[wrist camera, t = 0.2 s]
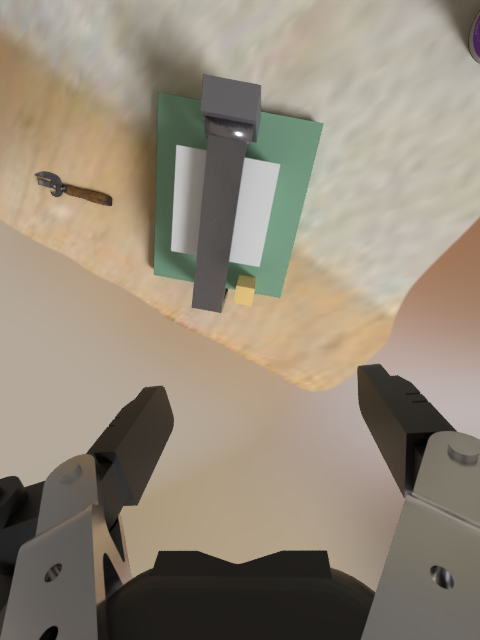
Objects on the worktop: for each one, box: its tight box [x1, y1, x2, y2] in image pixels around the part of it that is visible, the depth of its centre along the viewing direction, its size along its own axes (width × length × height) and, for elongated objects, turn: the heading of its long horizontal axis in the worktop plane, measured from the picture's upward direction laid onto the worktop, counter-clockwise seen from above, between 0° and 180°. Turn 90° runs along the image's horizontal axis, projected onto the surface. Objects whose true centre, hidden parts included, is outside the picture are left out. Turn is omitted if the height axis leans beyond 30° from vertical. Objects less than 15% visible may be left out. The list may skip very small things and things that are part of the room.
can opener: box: [36, 172, 112, 206], centre depth 30 cm, size 9×2×1 cm, turn 70°
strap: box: [192, 116, 253, 313], centre depth 25 cm, size 16×4×6 cm, turn 170°
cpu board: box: [154, 74, 323, 306], centre depth 26 cm, size 18×16×10 cm
